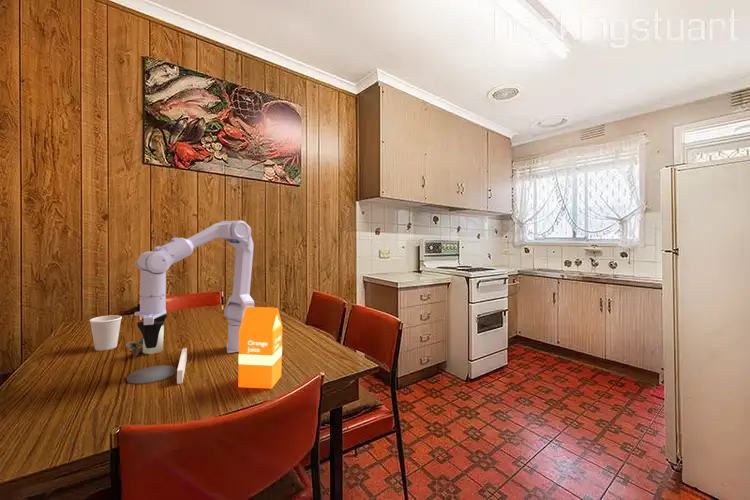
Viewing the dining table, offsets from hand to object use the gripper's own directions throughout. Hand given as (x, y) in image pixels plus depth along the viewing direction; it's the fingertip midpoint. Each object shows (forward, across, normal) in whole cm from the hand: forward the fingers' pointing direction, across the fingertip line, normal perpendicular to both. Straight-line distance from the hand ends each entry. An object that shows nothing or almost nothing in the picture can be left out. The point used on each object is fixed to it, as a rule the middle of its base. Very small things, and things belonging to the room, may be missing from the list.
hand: (152, 344), depth 85 cm
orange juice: (+9, +16, +26) cm, 32 cm away
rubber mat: (+8, 0, 0) cm, 8 cm away
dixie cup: (+9, -31, -17) cm, 36 cm away
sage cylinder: (+2, 0, 0) cm, 2 cm away
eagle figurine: (+9, -19, -4) cm, 22 cm away
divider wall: (+8, 0, +7) cm, 11 cm away
